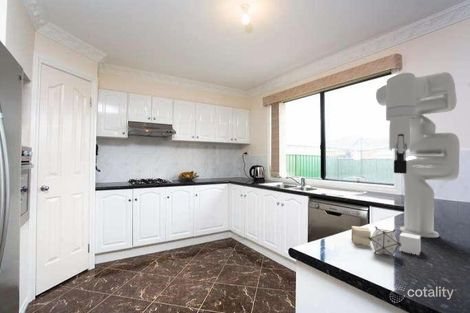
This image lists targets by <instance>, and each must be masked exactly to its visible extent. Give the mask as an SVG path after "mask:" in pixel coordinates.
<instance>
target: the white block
mask: <svg viewBox="0 0 470 313" xmlns="http://www.w3.org/2000/svg"><path fill="white" fill-rule="evenodd" d="M421 238H422V237H421V236H419V235H414V234H408V233H404V232H402V231H401V233H400V234H399V241H398V243H401V246H398V248H399V252H402V251H403V253H408V254H411V253H412V255H415V254H416V256H420V254H421V246H422V243H421Z"/></svg>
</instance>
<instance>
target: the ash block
mask: <svg viewBox="0 0 470 313" xmlns="http://www.w3.org/2000/svg"><path fill="white" fill-rule="evenodd" d="M371 233H372V232H371V230H370V228H368V227H364V226H362V227H361V226H356V225H355V226H353V225H351V241H352V243H353V244H354V245H357V244H364V245H363V246H366V245H370V246H371V243H372V241H371V240H370V239H369V238H368V237H370V238H371V237H372V234H371Z"/></svg>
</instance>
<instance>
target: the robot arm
mask: <svg viewBox="0 0 470 313" xmlns="http://www.w3.org/2000/svg"><path fill="white" fill-rule="evenodd" d="M456 91H457V90H456V84H455V80H454V77H453V76H452V74H451V73H449V72H446V71H444V72H438V73H437V72H436V73H431V74H428V75H422V76H416V75H415V74H414V73H411V72H399V73H395V74H393V75H391V76H389V77H388V78H387V79H386V83H384V84H383V83H382V84H381V85H379V86H378V88H377V90H376V92H375V93H376V94H375V98H376V101H377V104H378V105H380V106H385V121H387V122H389V129H388V130H389V132H388V134H389V135H388V136H389V137H388V138H389V141H388V142H389V143H388V145H389V151H391V152H393V150H394V160H393V173H394V174H403V180H404V181H403V182H404V203H403V204H404V207H403V208H404V215H403V216H404V218H403V219H404V220H403V224H404V225H403V226H399V231H400V232H401V233H402V232H403V233H408V234H414V235H419V236H421V238H429V239H431V238H432V239H433V238H434V239H435V238H439V237H440V234H439V232H437V231H435V230H434V229H435V228H434V227H435V226H434V225H435V223H434V221H435V218H434V216H435V214H434V213H435V191H434V189H433V187H432V186H431V185H430V184H429V183H428V181H443V182H444V181H445V182H446V181H447V182H448V181H455V180H457V178H458V177H459V175H460V149H461V148H460V140H459V136H457V135H456V134H455V133H453V132H436V130H437V127H436V126H437V125H436V123H435V122H434V121H433V120H431V119H430V118H428V117H427V116H425V115H427V114H428V115H431V114H439V113H447V112H448V113H449V112H452V111H453V110H455V108H456V106H457V101H458V100H457V93H456ZM408 150H409V152H410V154H411V155H413V156H407V151H408Z"/></svg>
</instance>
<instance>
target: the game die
mask: <svg viewBox="0 0 470 313" xmlns="http://www.w3.org/2000/svg"><path fill="white" fill-rule="evenodd" d="M374 227H375V231H374V232H373V233H372V234H371V238H370V237H368V238H369V239H370V240H371V243H372V246H373V249H374V252H373V255H375V254H376V253H379V254H384V255H388V256H392V258H393V259H395V258H396V256H395V253H396V252H397V249H398V248H399V246H401V243H399V241H398V239H397V236H396V234H395V232H396V229H393V230H389V229H388V230H387V229H384V228H383V229H382V228H378V227H377V226H374Z"/></svg>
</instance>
